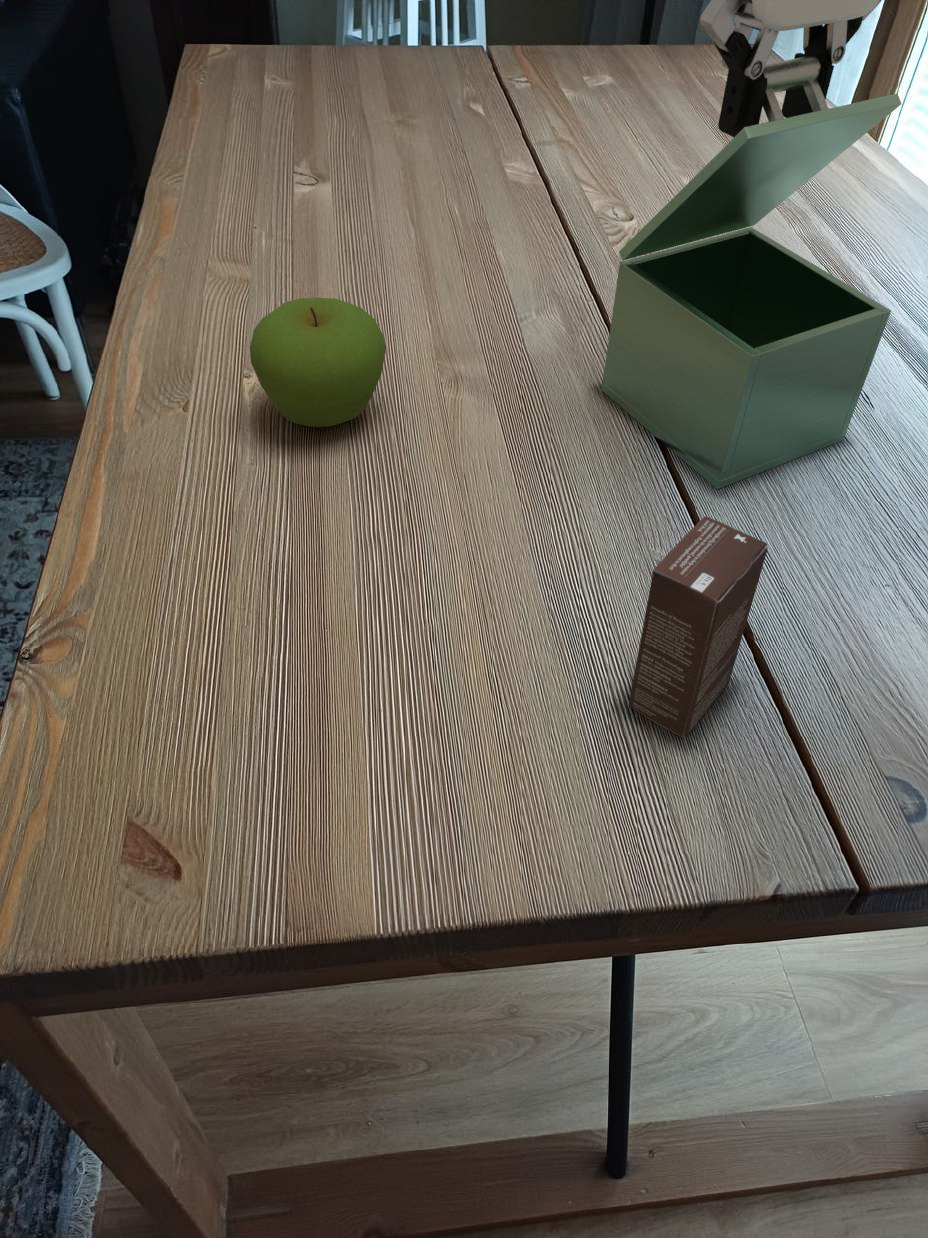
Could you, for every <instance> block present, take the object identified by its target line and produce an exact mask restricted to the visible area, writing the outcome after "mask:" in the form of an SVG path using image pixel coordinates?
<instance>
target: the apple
mask: <svg viewBox="0 0 928 1238" xmlns="http://www.w3.org/2000/svg"><path fill="white" fill-rule="evenodd" d="M252 332H253V333H252V337H251V341H250V345H249V354H250V364H251V366H252V368H253V370H254V372H255V373H254V374H255V375H256V377H257V379H258V381H259V384H260V386H261V388H262V390H263V391H264V392H265V394H266V395H267V396H268V398H269V400H270V401H271V402H272V404H273V405H274V407H275V408H276V410H277V411H278V412H279V414H281V415H282V416H283V417H284V418H285V419H286V420H287V421H288V422H291V423H293V424H298V425H301V426H305V427H312V428H328V427H333V426H337V425H339V424H342V423H346V422H348V421H351V420H354V419H355V418H357V417H358V416H360V415H361V414H362V413H363V412H365V410H366V408H367V406H368V404H369V402H370V400H371V398H372V396H373V394H374V392H375V390H376V388H377V386H378V383H379V382H380V379H381V376H382V373H383V368H384V362H385V357H386V353H387V345H386V341H385V337H384V333H383V332H382V330H381V329H380V326H379V325H378V323H377V321H376V319H375V318H374V317H373V316H372V315H370V314H369V313H368V312H367V311H366V310H365V309H364V308H362V307H361V306H358V305H355V304H353V303H350V302H347V301H345V300H341V299H338V298H334V297H331V298H330V297H302V298H301V297H300V298H296V299H293V300H289V301H284V302H283V303H282V304H280V305H279V306H278V307H276V308H274V309H273V310H272V311H271V312H269V313H268V314H266V315H265V316H264V317H262V318H261V319H260V320H259V322H258V323H257V325H256V326H255V327H254V329H253V331H252Z"/></svg>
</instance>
